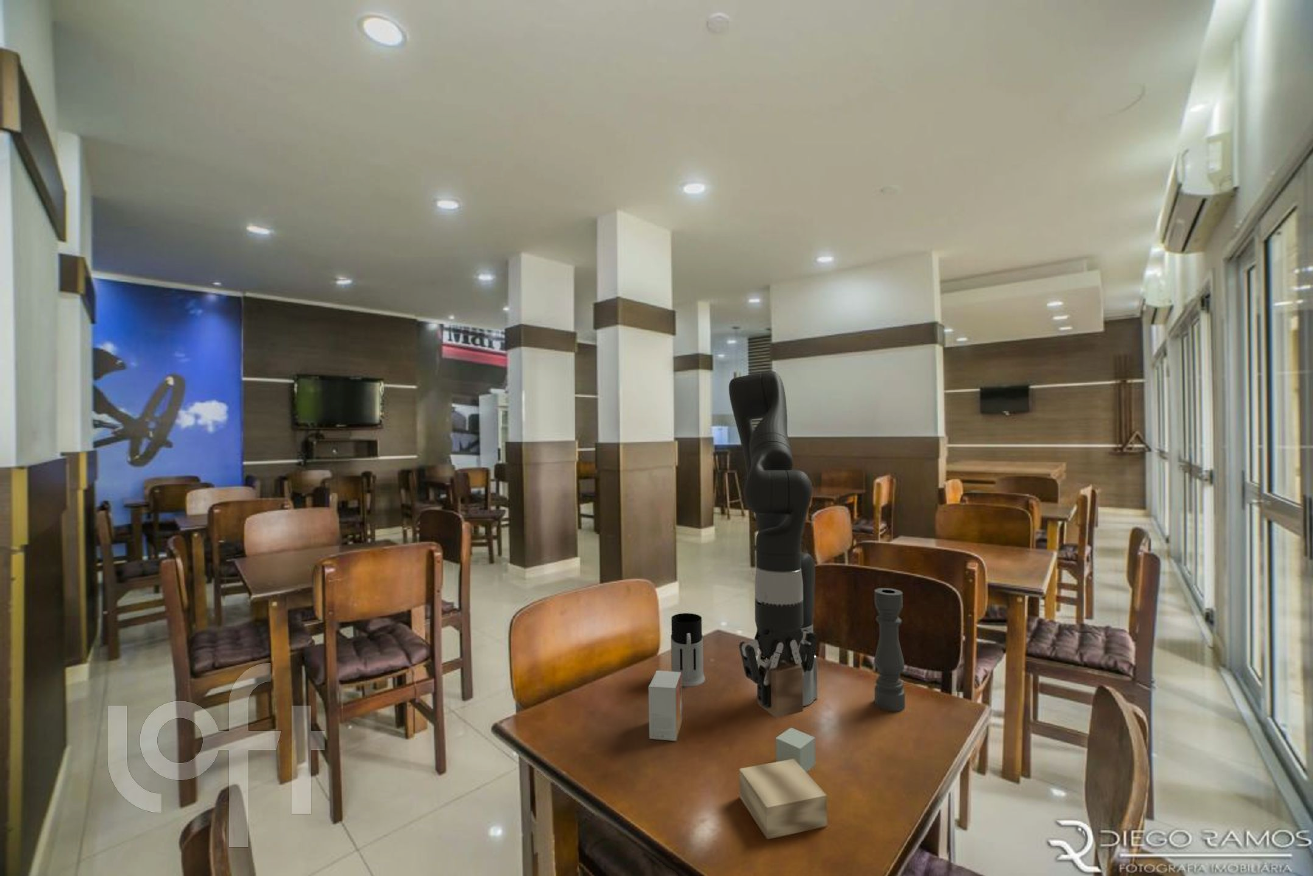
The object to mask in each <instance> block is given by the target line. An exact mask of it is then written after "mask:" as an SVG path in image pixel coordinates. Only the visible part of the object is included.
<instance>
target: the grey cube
mask: <svg viewBox="0 0 1313 876" xmlns="http://www.w3.org/2000/svg"><path fill="white" fill-rule="evenodd" d="M775 757H776V758H775V760H776V761H775V762H779V761H785V760H790V759H795V761H796V762H797V763H798V764H799V765H800V766H801V767H802V768H803V769H804V771H805V772H806V773H808V772H809V771H810V770H811V769H813V767H815V766H816V737H814V736H813V735H809V734H808V733H805V732H802V731H800V730H797V729H796V728H793V727H789V728H788V729H786V730H785V731H784V732H783V733H781V734H780V735H778V736H776V738H775Z"/></svg>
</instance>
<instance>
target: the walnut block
mask: <svg viewBox="0 0 1313 876" xmlns="http://www.w3.org/2000/svg"><path fill="white" fill-rule="evenodd" d="M766 661H767V662H769V661H770V660H769V659H767V658H766ZM757 664H758V663H757ZM764 672H765V667H764ZM770 685H771V707H770V708H765V707H764V706H762V705H761V704H760V702H759V701H758V700H757V705H758V706H760V707H761V708H762V709H764V710H765V711H766V712H768V713H769V714H770V715H772V717H774V718H776V719H780V718H783V717H787V716H791V715H794V714H799V713H802V712H803V711H804V706H803V667H802V666H800V665H794V664H793V663H791V662H789V661H788V660H782V661H780V662H778V664H777V667H776V670H772V671H771V681H770Z"/></svg>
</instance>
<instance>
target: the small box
mask: <svg viewBox="0 0 1313 876" xmlns="http://www.w3.org/2000/svg"><path fill="white" fill-rule="evenodd" d="M682 688H683V686H682V673H681V672H671V670H670V671H668V670H656V671H655V672H654V676H653V678H652V680H651V682H650V683H649V685H648V730H649V731H648V734H649V735H648V736H649V737H648V738H649V739H650V740H651V739H652V740H660V741H661V740H662V741H673V742H677V740H678V736H679V733H680V730H681V726H682V723H683V702H682V701H683V700H682V699H683V698H682V697H683V694H682V692H683V689H682Z"/></svg>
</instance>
